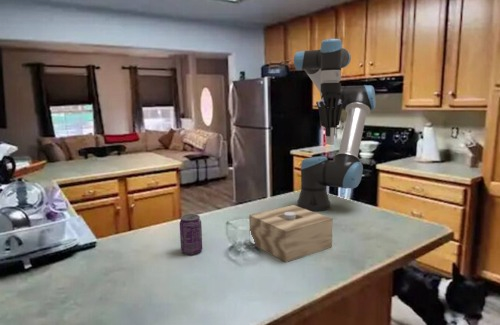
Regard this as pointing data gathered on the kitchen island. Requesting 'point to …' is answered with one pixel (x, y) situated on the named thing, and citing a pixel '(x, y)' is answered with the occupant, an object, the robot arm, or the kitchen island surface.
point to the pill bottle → (289, 216)
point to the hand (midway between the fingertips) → (329, 144)
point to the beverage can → (191, 234)
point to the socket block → (291, 232)
